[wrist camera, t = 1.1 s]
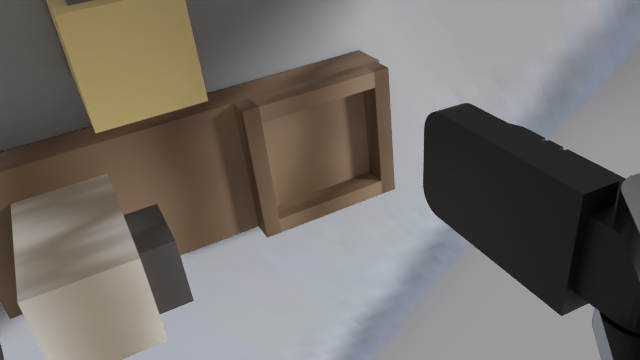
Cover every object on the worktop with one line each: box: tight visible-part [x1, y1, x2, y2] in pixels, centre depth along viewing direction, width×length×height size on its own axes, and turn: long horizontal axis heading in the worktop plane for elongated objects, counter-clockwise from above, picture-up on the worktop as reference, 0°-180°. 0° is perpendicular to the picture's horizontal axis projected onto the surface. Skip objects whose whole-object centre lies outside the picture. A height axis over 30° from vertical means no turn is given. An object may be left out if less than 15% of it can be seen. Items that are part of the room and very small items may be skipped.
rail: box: [0, 50, 395, 360], centre depth 26 cm, size 20×7×9 cm, turn 97°
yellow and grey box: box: [46, 0, 208, 133], centre depth 22 cm, size 5×4×7 cm
